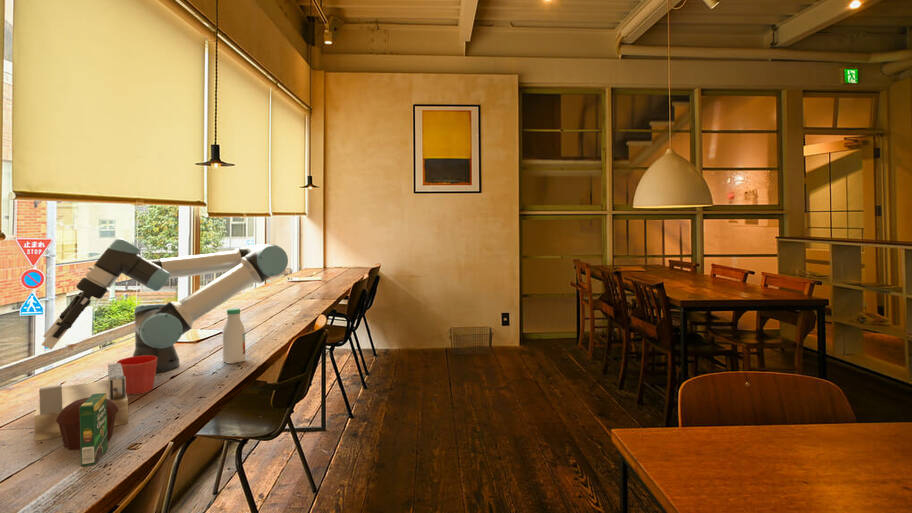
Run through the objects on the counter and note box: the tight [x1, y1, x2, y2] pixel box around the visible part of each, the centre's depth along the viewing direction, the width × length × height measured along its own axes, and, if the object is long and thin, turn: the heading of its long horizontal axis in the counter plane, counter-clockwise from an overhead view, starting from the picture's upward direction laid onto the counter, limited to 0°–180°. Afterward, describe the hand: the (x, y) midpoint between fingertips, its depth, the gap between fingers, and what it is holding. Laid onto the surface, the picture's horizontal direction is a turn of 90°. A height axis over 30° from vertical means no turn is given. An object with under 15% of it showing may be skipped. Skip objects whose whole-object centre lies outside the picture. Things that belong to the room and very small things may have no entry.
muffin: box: [56, 397, 119, 451], centre depth 112 cm, size 12×11×10 cm
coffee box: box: [80, 393, 109, 467], centre depth 104 cm, size 8×3×13 cm, turn 20°
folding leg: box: [107, 363, 127, 399], centre depth 130 cm, size 18×4×5 cm, turn 38°
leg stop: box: [39, 384, 63, 415], centre depth 114 cm, size 4×2×6 cm, turn 127°
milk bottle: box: [222, 308, 246, 363], centre depth 182 cm, size 8×8×20 cm
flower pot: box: [116, 355, 157, 395], centre depth 148 cm, size 11×11×10 cm
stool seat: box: [34, 379, 129, 442], centre depth 127 cm, size 18×23×6 cm
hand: (47, 342), depth 144 cm, fingers open, 13 cm apart
